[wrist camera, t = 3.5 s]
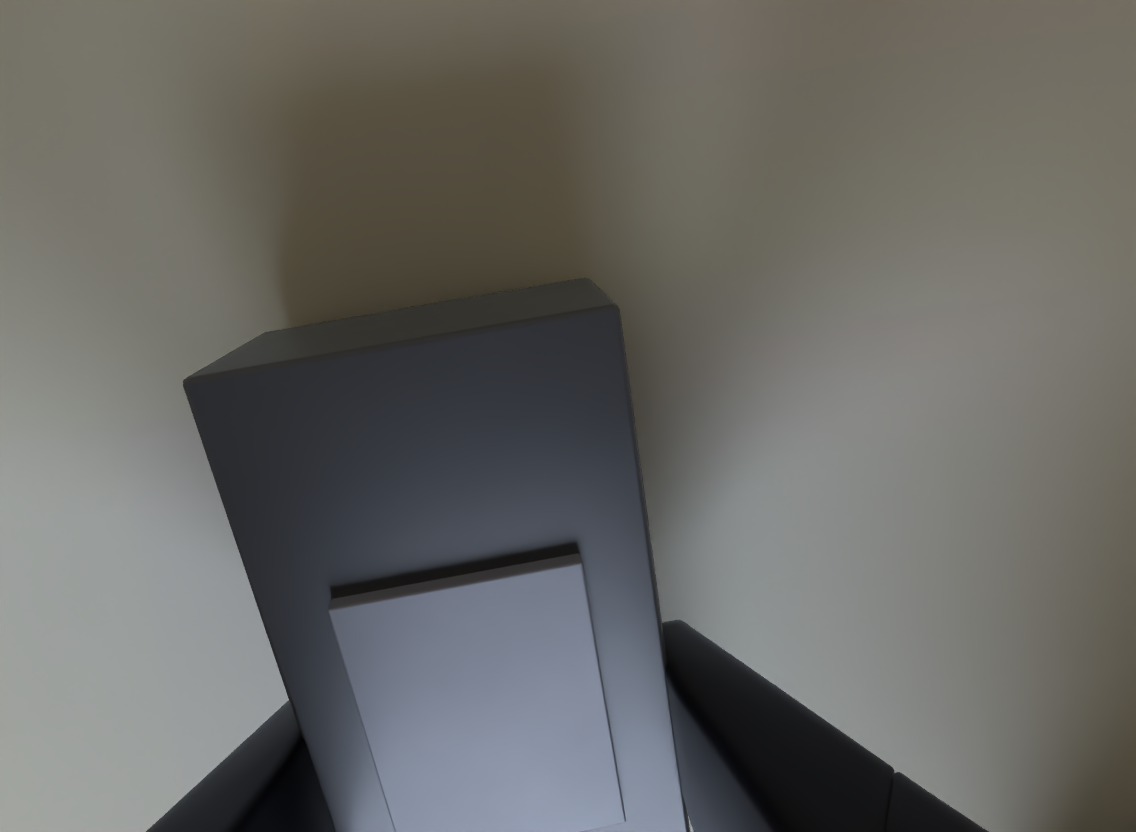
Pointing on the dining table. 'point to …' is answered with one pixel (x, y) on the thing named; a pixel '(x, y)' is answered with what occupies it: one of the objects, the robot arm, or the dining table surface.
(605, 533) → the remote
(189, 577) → the dining table surface
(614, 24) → the dining table surface
